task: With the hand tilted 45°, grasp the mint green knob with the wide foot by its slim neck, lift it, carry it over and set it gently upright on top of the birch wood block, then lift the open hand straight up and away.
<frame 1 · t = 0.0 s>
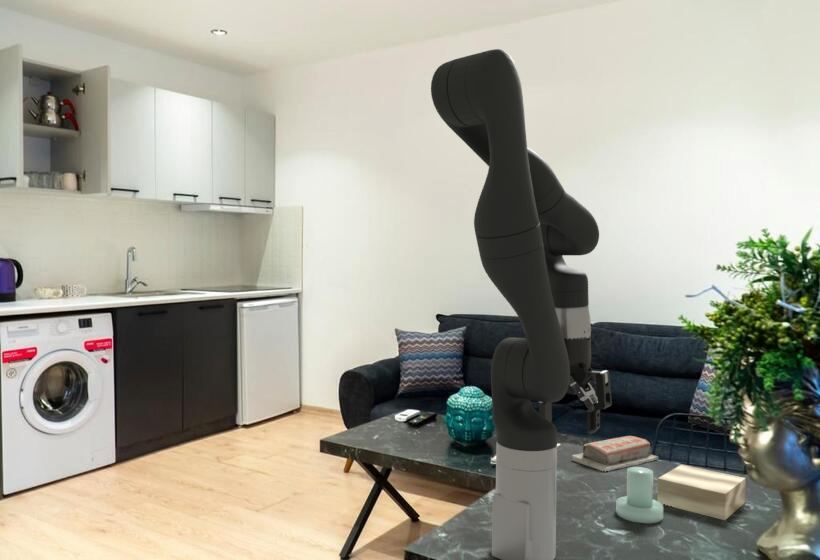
hand: (569, 427, 111), 17 cm above the table, tool pointing down, fingers open, 8 cm apart
block: (701, 504, 124), on the table
mint green knob: (639, 514, 118), on the table
packaged product: (615, 462, 150), on the table
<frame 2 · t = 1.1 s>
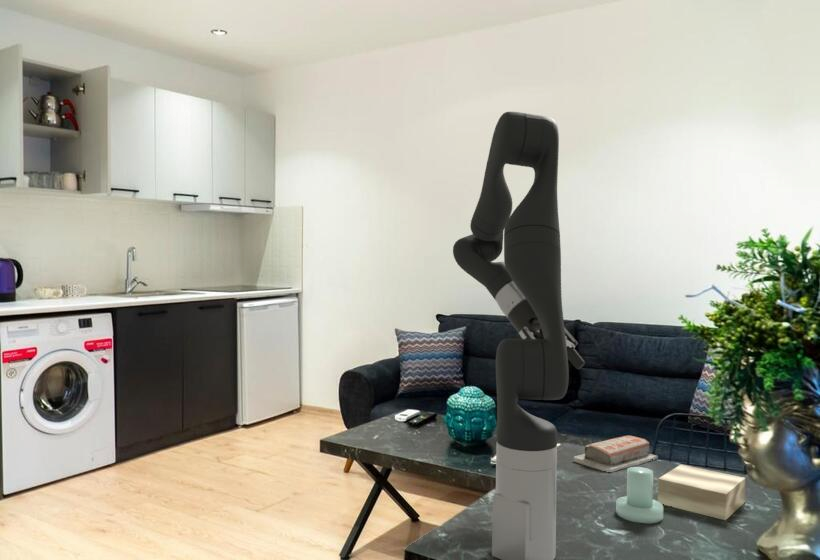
hand: (570, 369, 127), 25 cm above the table, tool tilted 45°, fingers open, 8 cm apart
nothing on the table moved.
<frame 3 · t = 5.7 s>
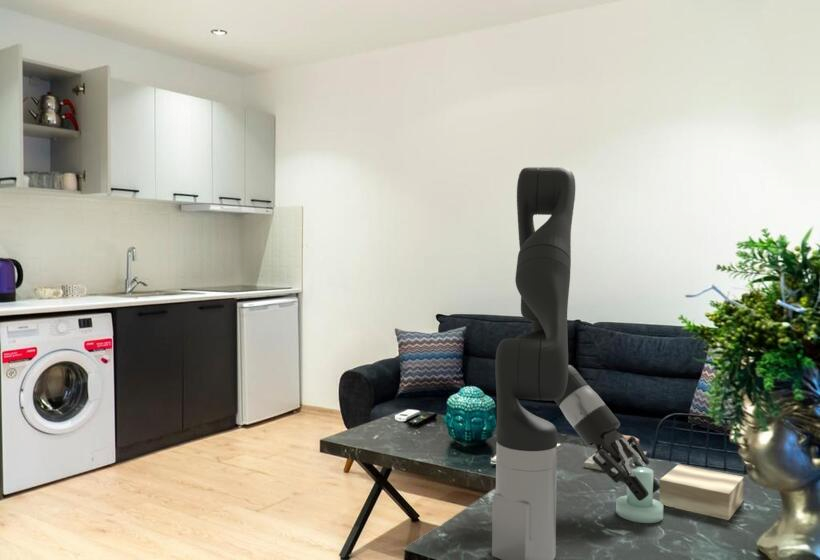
hand: (650, 493, 116), 4 cm above the table, tool tilted 45°, fingers closed on mint green knob, 4 cm apart
mint green knob: (639, 514, 118), on the table, touching gripper
when the fingers open (9 cm above the table, at t = 11.5 s): mint green knob stays where it is, resting on block.
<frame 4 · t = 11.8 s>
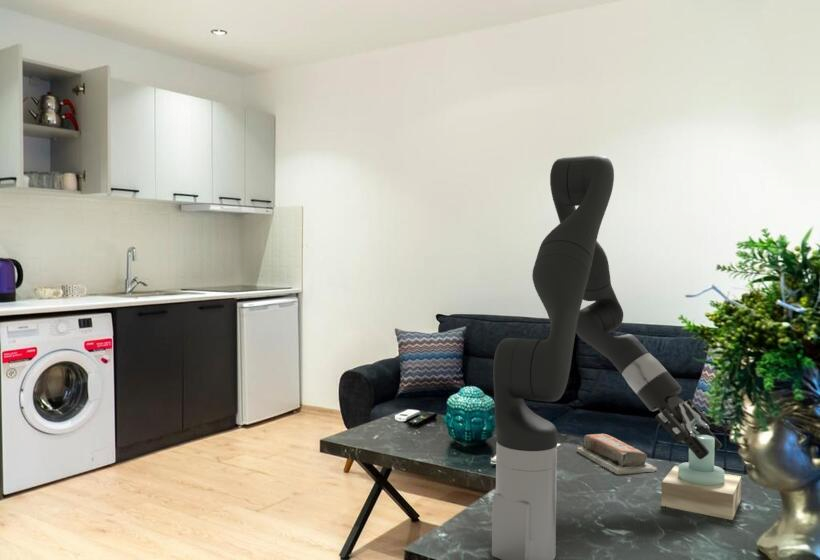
hand: (711, 452, 122), 10 cm above the table, tool tilted 45°, fingers open, 6 cm apart
block: (701, 505, 124), on the table, touching mint green knob
mint green knob: (700, 479, 124), point 4 cm above the table, touching block
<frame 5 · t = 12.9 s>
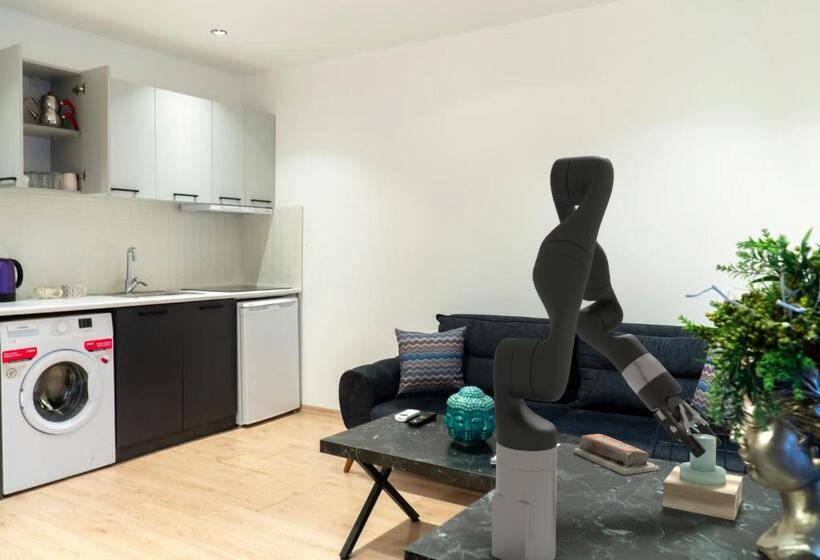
hand: (709, 450, 123), 10 cm above the table, tool tilted 45°, fingers open, 8 cm apart
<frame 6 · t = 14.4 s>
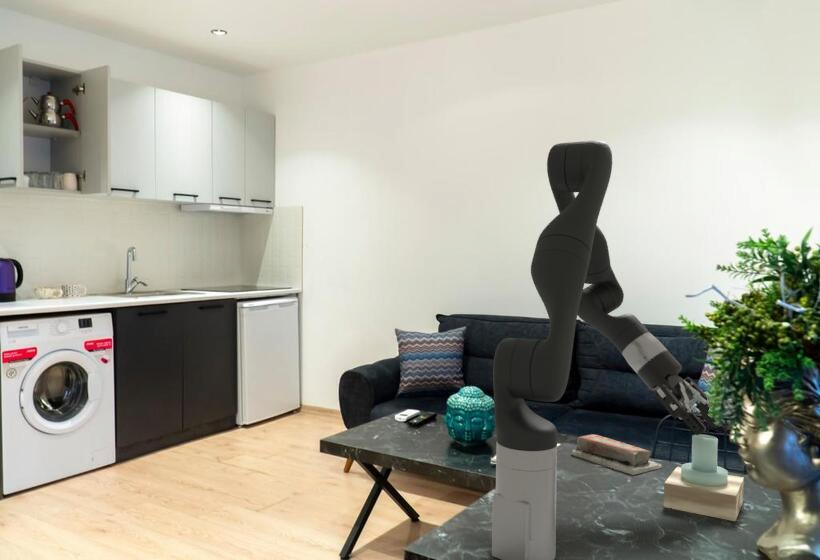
hand: (710, 428, 122), 14 cm above the table, tool tilted 45°, fingers open, 8 cm apart
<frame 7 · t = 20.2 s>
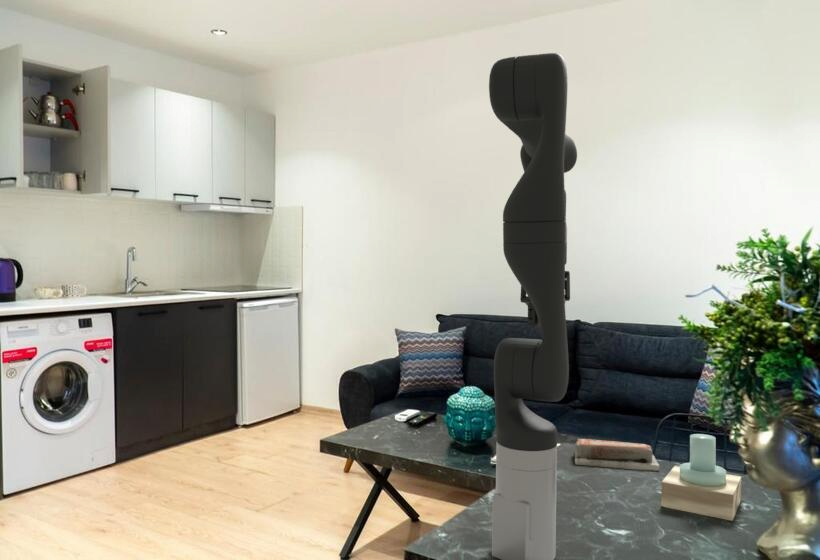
hand: (545, 324, 127), 33 cm above the table, tool pointing down, fingers open, 8 cm apart
block: (701, 505, 123), on the table
mint green knob: (702, 479, 123), point 5 cm above the table
at the end: mint green knob inside the target area on the block (0.2 cm from its centre), point 5.0 cm above the block's base; mint green knob tilted 0°; the gripper is holding nothing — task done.
